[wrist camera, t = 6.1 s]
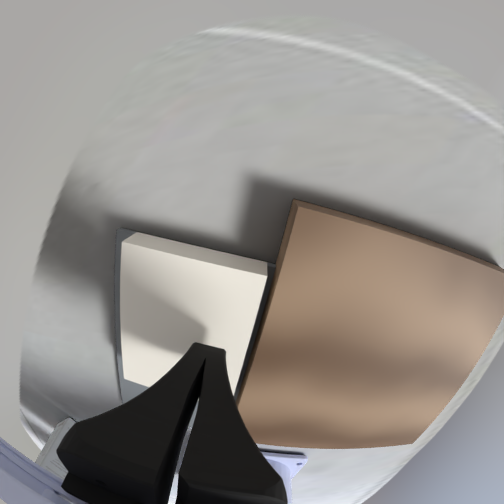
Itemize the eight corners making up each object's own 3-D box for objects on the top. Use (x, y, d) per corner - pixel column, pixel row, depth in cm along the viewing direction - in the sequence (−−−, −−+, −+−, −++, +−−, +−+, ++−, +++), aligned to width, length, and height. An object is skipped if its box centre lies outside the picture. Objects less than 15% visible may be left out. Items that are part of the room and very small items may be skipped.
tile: (232, 388, 15) (229, 407, 13) (133, 362, 14) (124, 378, 13) (267, 262, 12) (267, 276, 11) (136, 232, 12) (121, 241, 11)
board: (405, 425, 16) (412, 443, 15) (230, 415, 16) (227, 438, 14) (500, 267, 12) (519, 279, 10) (292, 198, 12) (298, 206, 10)
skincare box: (57, 422, 19) (12, 499, 8) (69, 415, 18) (18, 504, 7) (101, 456, 21) (68, 535, 9) (118, 452, 20) (82, 542, 8)
